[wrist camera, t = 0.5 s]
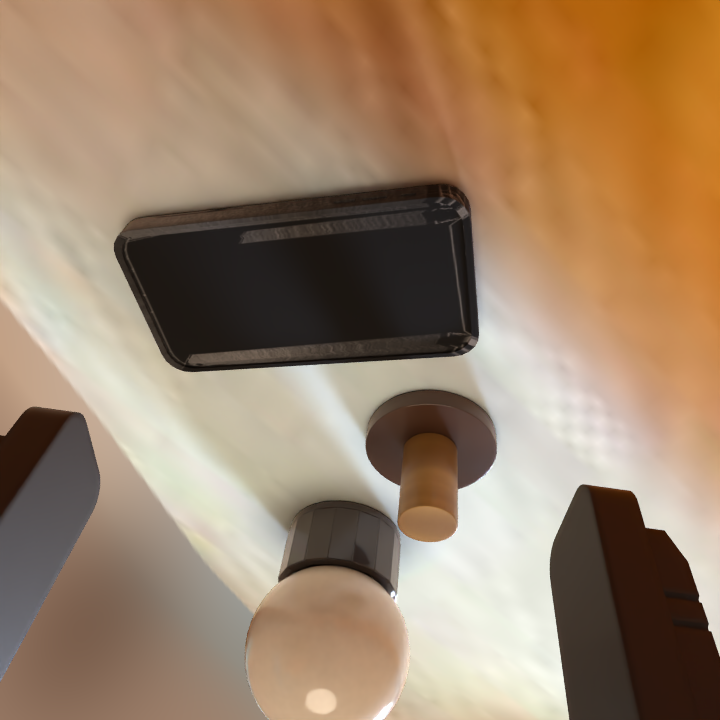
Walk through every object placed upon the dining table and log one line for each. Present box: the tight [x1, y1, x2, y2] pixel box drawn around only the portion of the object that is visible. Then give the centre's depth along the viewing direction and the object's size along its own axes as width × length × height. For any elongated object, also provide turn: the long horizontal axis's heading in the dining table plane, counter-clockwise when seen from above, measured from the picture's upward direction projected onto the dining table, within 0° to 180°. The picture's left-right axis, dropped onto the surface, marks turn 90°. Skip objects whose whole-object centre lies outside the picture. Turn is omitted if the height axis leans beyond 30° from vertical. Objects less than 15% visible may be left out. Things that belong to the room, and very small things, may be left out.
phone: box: [114, 184, 479, 372], centre depth 28 cm, size 8×1×15 cm
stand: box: [278, 501, 401, 601], centre depth 39 cm, size 7×7×4 cm
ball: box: [245, 564, 410, 720], centre depth 35 cm, size 9×9×9 cm
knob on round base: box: [366, 390, 497, 542], centre depth 32 cm, size 7×7×6 cm
